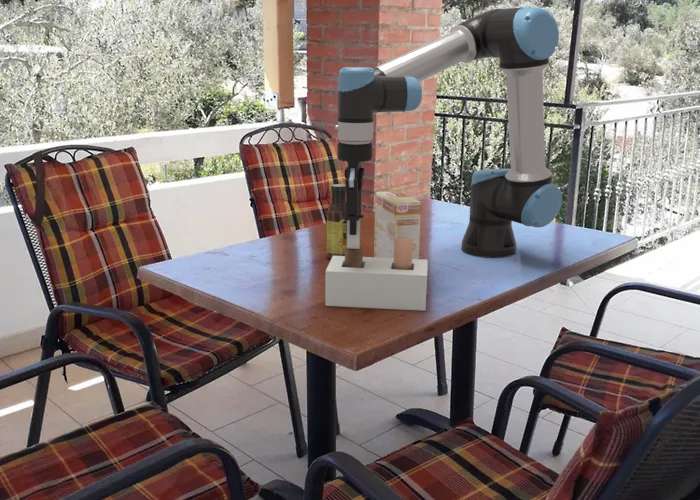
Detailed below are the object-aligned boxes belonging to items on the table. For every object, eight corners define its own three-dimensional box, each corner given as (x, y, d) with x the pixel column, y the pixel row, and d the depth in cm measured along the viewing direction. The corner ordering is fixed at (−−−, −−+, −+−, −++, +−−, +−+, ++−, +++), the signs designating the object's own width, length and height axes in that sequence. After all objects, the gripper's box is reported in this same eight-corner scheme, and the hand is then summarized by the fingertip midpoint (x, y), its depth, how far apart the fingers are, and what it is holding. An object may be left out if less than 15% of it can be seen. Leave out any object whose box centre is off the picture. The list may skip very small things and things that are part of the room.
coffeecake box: (419, 279, 175) (422, 201, 169) (392, 281, 173) (394, 203, 167) (398, 262, 189) (400, 190, 183) (372, 264, 187) (374, 191, 181)
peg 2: (411, 271, 160) (412, 237, 158) (411, 277, 156) (412, 242, 154) (393, 270, 161) (394, 236, 159) (392, 276, 157) (393, 241, 155)
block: (426, 292, 165) (427, 259, 163) (425, 310, 154) (427, 275, 152) (332, 288, 168) (333, 255, 166) (325, 305, 156) (325, 271, 154)
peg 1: (363, 280, 162) (363, 246, 160) (361, 285, 158) (361, 251, 156) (345, 279, 163) (345, 245, 160) (343, 285, 159) (343, 250, 157)
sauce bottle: (347, 261, 188) (347, 188, 183) (324, 260, 189) (324, 187, 184) (352, 255, 194) (352, 183, 189) (329, 253, 196) (329, 182, 190)
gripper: (341, 137, 158) (340, 239, 165) (333, 145, 146) (332, 255, 152) (374, 138, 158) (372, 240, 164) (369, 146, 145) (367, 256, 152)
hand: (353, 247), depth 158 cm, fingers closed
